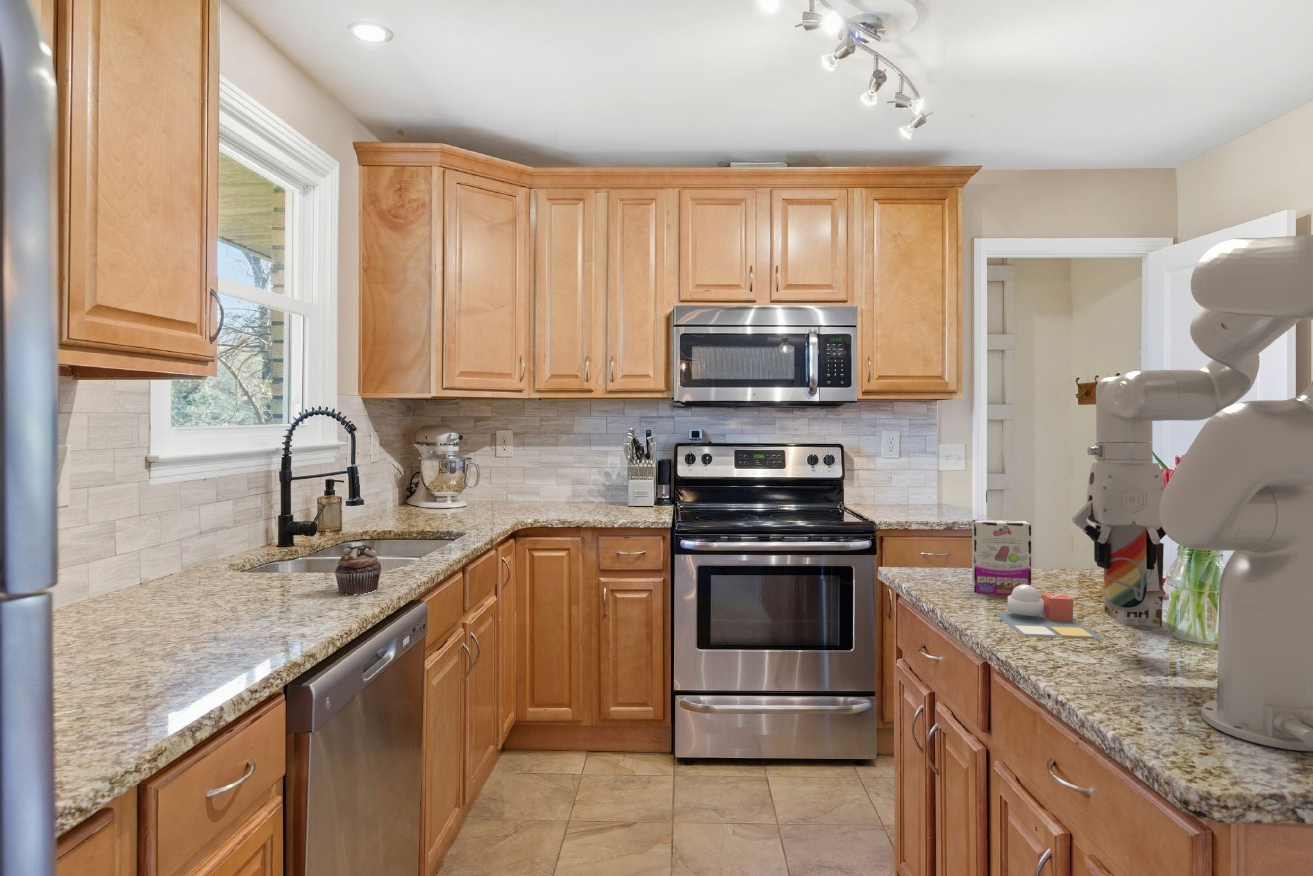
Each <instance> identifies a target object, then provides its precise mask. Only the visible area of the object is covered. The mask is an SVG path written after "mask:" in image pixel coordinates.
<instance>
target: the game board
mask: <svg viewBox="0 0 1313 876" xmlns="http://www.w3.org/2000/svg"><path fill="white" fill-rule="evenodd" d="M1040 598H1041V599H1043V600H1044V614H1043V615H1039V616H1028V615H1020V614H1015V613H1012V612H1010V611H997V610H996V611H991V613H993V614H994V615H996V616H997V617H998V618H999V619H1000V620H1002V622H1005V624H1007V626H1009V627H1010V628H1012V630H1013V631H1015V632H1016V633H1018V634H1019V635H1020V636H1021V637H1029V638H1030V637H1031V638H1051V639H1053V638H1054V639H1055V638H1056V639H1074V640H1075V639H1076V640H1077V639H1078V640H1079V639H1080V640H1082V639H1083V640H1102V641H1103V640H1105V638H1103V637H1102V636H1101V635H1099V634H1097V633H1095V632H1094V631H1092V630H1090V629H1089V628H1087V627H1086V626H1085V625H1083V624H1082V623H1079V622H1078V621H1076V620H1075V619H1074V599H1073V598H1072V597H1070V596H1068V595H1067V594H1064V593H1048V592H1047V593H1045V592H1044V593H1042V592H1041V595H1040ZM1050 627H1072V628H1082V629H1083V630H1085V631H1086V632H1088V633H1089V634H1091V635H1093V636H1094V638H1078V637H1062V636H1060V635H1059V634H1057V633H1056V632H1055V631H1053V630H1052V629H1050Z"/></svg>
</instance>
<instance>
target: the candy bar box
mask: <svg viewBox="0 0 1313 876" xmlns="http://www.w3.org/2000/svg"><path fill="white" fill-rule="evenodd" d="M1023 584H1025V585H1030V586H1032V523H1030V521H1027V520H1006V519H1005V520H1003V519H1002V520H1001V519H999V520H998V519H972V520H971V590H972V592H973V593H976V594H977V593H978V594H988V595H989V594H991V595H1007V596H1010V595H1011V594H1012V591H1013V590H1014V588H1015V587H1017V586H1019V585H1023Z"/></svg>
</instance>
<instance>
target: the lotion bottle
mask: <svg viewBox="0 0 1313 876" xmlns="http://www.w3.org/2000/svg"><path fill="white" fill-rule="evenodd" d="M1107 543H1108V544H1110V552H1111V567H1110V568H1109V569H1104V568H1103V600H1104V607H1105V606H1106V607H1107V608H1110V609H1114V610H1119V611H1128V612H1142V611H1146V609H1147V554H1146V527H1143V526H1140V525H1136V523H1135V521H1133V522H1132V524H1131V525H1125V526H1112V528H1111V530H1110V533H1109V536H1108V538H1107Z"/></svg>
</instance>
